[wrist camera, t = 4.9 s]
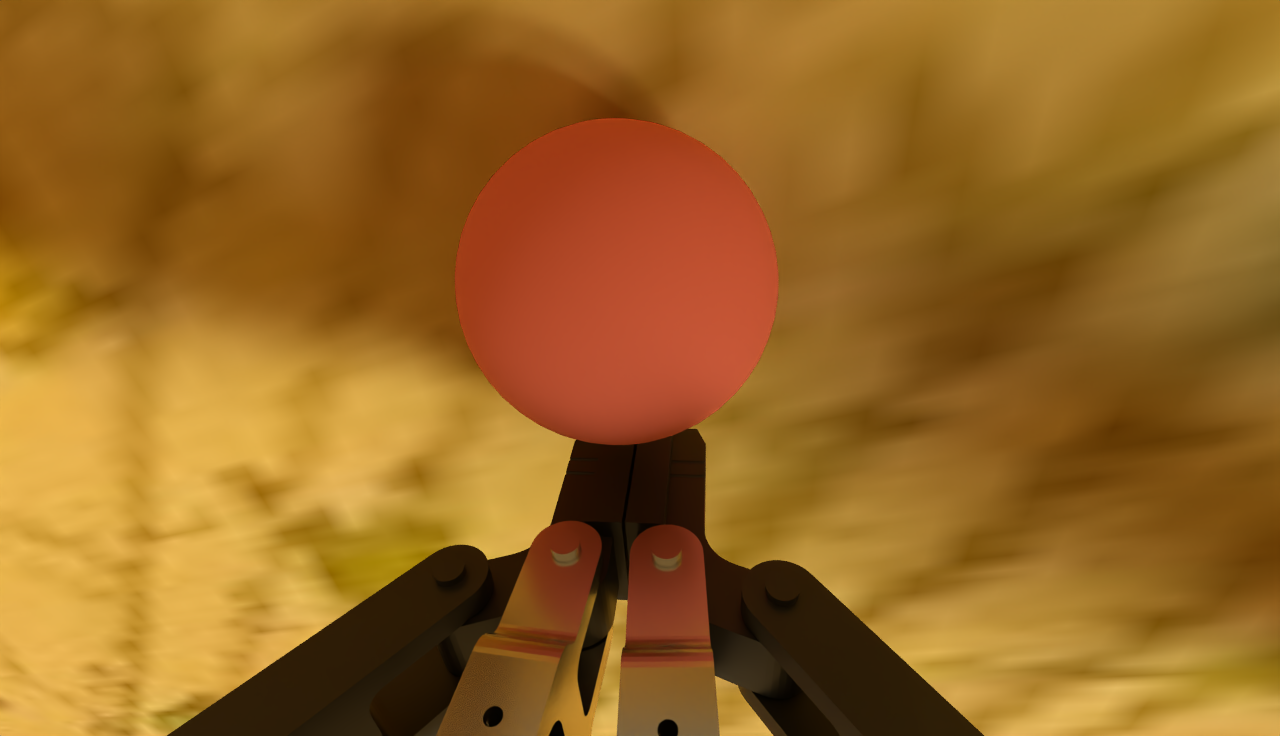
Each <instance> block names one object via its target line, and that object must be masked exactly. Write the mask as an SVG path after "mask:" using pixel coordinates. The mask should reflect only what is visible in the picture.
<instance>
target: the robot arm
mask: <svg viewBox="0 0 1280 736" xmlns="http://www.w3.org/2000/svg"><path fill="white" fill-rule="evenodd" d="M705 481H706V444H705V442H704V440H703V439H702V437H701V435H700V434H699V432H698V430H697V429H686V430H684V431H682V432H680V433H677V434H675V435H672V436H669V437H666V438H662V439H658V440H655V441H651V442H646V443H640V444H632V445H606V444H596V443H589V442H584V441H580V440H576V441H575V443H574V446H573V450H572V453H571V457H570V461H569V464H568V467H567V471H566V475H565V477H564V481H563V484H562V488H561V491H560V495H559V498H558V502H557V505H556V509H555V512H554V515H553V519H552V522H551V525H550V526H549V527H547V528H545V529H544V530H543V531H541V532H540V533H539V534H538V535H537V537H536V538H535V539H534V541H533V543H532V545H531V547H530V548H528V549H526V550H524V551H521V552H519V553H515V554H512V555H508V556H503V557H499V558H495V559H490V560H487V558H486V556H485V555H484V553H483V552H482V551H480V550H479V549H477V548H475V547H473V546H469V545H454V546H449V547H446V548H443V549H441V550H439V551H437V552H435V553H433V554H432V555H430V556H429V557H427V558H426V559H425V560H423V561H422V562H420V563H419V564H417V565H416V566H414V567H413V568H411V569H410V570H408V571H407V572H405V573H404V574H403V575H401V576H400V577H398V578H397V579H395V580H394V581H392V582H391V583H389V584H388V585H386V586H385V587H384V588H382V589H381V590H379V591H378V592H376V593H375V594H373V595H372V596H370V597H369V598H367V599H366V600H365V601H363V602H362V603H360V604H359V605H357V606H356V607H354V608H353V609H351V610H350V611H348V612H347V613H346V614H344V615H343V616H341V617H340V618H338V619H337V620H335V621H334V622H332V623H331V624H329V625H328V626H327V627H325V628H324V629H322V630H321V631H319V632H318V633H316V634H315V635H313V636H312V637H310V638H309V639H308V640H306V641H305V642H303V643H302V644H300V645H299V646H297V647H296V648H294V649H293V650H291V651H290V652H289V653H287V654H286V655H284V656H283V657H281V658H280V659H278V660H277V661H275V662H274V663H272V664H271V665H269V666H268V667H267V668H265V669H264V670H262V671H261V672H259V673H258V674H256V675H255V676H253V677H252V678H250V679H249V680H248V681H246V682H245V683H243V684H242V685H240V686H239V687H237V688H236V689H234V690H233V691H231V692H230V693H229V694H227V695H226V696H224V697H223V698H221V699H220V700H218V701H217V702H215V703H214V704H212V705H211V706H210V707H208V708H207V709H205V710H204V711H202V712H201V713H199V714H198V715H196V716H195V717H193V718H192V719H191V720H189V721H188V722H186V723H185V724H183V725H182V726H180V727H179V728H177V729H176V730H174V731H173V732H172V733H170V734H169V735H167V736H591V732H592V725H593V720H594V715H595V711H596V707H597V702H598V698H599V694H600V689H601V685H602V681H603V677H604V672H605V668H606V664H607V659H608V655H609V651H610V646H611V642H612V638H613V621H614V616H615V610H616V603H617V599H618V600H628V605H627V625H626V643H625V647H623V650H622V656H621V670H620V688H619V706H618V724H617V736H720V735H719V722H718V709H717V697H716V684H715V676H717V677H720V678H722V679H724V680H727V681H729V682H731V683H734V684H736V685H738V687H739V689H740V692H741V694H742V695H743V697H744V698H745V700H746V701H747V702H748V703H749V705H750V706H751V707H752V709H753V710H754V711H755V712H756V714H757V715H758V716H759V717H760V719H761V720H762V721H763V723H764V724H765V725H766V726H767V728H768V729H769V730H770V731H771V733H772V734H773V735H774V736H984V735H983V734H982V733H981V732H980V731H979V730H978V729H976V728H975V727H974V726H973V725H972V724H971V723H970V722H969V721H968V720H967V719H966V718H965V717H964V716H963V715H961V714H960V713H959V712H958V711H957V710H956V709H955V708H954V707H953V706H952V705H951V704H950V703H949V702H948V701H946V700H945V699H944V698H943V697H942V696H941V695H940V694H939V693H938V692H937V691H936V690H935V689H934V688H933V687H931V686H930V685H929V684H928V683H927V682H926V681H925V680H924V679H923V678H922V677H921V676H920V675H919V674H918V673H917V672H915V671H914V670H913V669H912V668H911V667H910V666H909V665H908V664H907V663H906V662H905V661H904V660H903V659H902V658H900V657H899V656H898V655H897V654H896V653H895V652H894V651H893V650H892V649H891V648H890V647H889V646H888V645H887V644H885V643H884V642H883V641H882V640H881V639H880V638H879V637H878V636H877V635H876V634H875V633H874V632H873V631H872V630H870V629H869V628H868V627H867V626H866V625H865V624H864V623H863V622H862V621H861V620H860V619H859V618H858V617H857V616H855V615H854V614H853V613H852V612H851V611H850V610H849V609H848V608H847V607H846V606H845V605H844V604H843V603H842V602H840V601H839V600H838V599H837V598H836V597H835V596H834V595H833V594H832V593H831V592H830V591H829V590H828V589H827V588H825V587H824V586H823V585H822V584H821V583H820V582H819V581H818V580H817V579H816V578H815V577H814V576H813V575H812V574H810V573H809V572H808V571H807V570H806V569H804V568H802V567H801V566H799V565H796V564H794V563H791V562H787V561H781V560H772V561H766V562H763V563H760V564H758V565H756V566H754V567H753V568H752V569H751V570H750V569H747V568H744V567H741V566H738V565H735V564H733V563H730V562H728V561H726V560H725V559H723V558H721V557H720V556H719V555H717V554H716V553H715V552H714V551H713V550H712V548H711V547H710V546H709V544H708V542H707V540H706V537H705Z"/></svg>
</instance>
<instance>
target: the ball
mask: <svg viewBox="0 0 1280 736" xmlns="http://www.w3.org/2000/svg"><path fill="white" fill-rule="evenodd" d="M455 292H456V304H457V309H458V314H459V319H460V324H461V327H462V330H463V333H464V336H465V339H466V342H467V345H468V347H469V349H470V351H471V353H472V355H473V357H474V359H475V361H476V363H477V365H478V366H479V368H480V369H481V371H482V372H483V374H484V375H485V377H486V378H487V380H488V381H489V382H490V383H491V385H492V386H493V387H494V388H495V389H496V390H497V391H498V392H499V394H500V395H501V396H502V397H503V398H504V399H505V400H506V401H507V402H509V403H510V404H511V405H512V406H513V407H514V408H516V409H517V410H518V411H519V412H520V413H522V414H523V415H525V416H526V417H528V418H529V419H531V420H532V421H534V422H536V423H537V424H539V425H540V426H543V427H545V428H547V429H549V430H551V431H553V432H556V433H558V434H560V435H563V436H566V437H570V438H573V439H577V440H580V441H584V442H589V443H596V444H606V445H632V444H640V443H646V442H651V441H655V440H658V439H662V438H666V437H669V436H672V435H675V434H677V433H680V432H682V431H684V430H686V429H688V428H690V427H692V426H694V425H696V424H698V423H700V422H701V421H703V420H704V419H706V418H707V417H708V416H710V415H711V414H713V413H714V412H716V411H717V410H718V409H719V408H720V407H721V406H723V405H724V404H725V403H726V402H727V401H728V400H729V399H730V398H731V397H732V396H733V395H734V394H735V393H736V392H737V391H738V390H739V389H740V387H741V386H742V385H743V384H744V382H745V381H746V380H747V379H748V377H749V376H750V374H751V373H752V371H753V369H754V368H755V366H756V364H757V363H758V361H759V359H760V357H761V355H762V353H763V350H764V348H765V346H766V344H767V341H768V339H769V336H770V332H771V329H772V325H773V322H774V319H775V313H776V306H777V300H778V266H777V257H776V251H775V247H774V243H773V239H772V235H771V231H770V229H769V226H768V224H767V221H766V219H765V216H764V214H763V212H762V210H761V208H760V206H759V204H758V203H757V201H756V199H755V197H754V196H753V194H752V192H751V190H750V189H749V188H748V186H747V185H746V184H745V182H744V181H743V180H742V179H741V177H740V176H739V175H738V173H737V172H736V171H735V170H734V169H733V168H732V167H731V166H730V165H729V164H728V163H727V162H726V161H725V160H724V159H723V158H722V157H720V156H719V155H718V154H716V153H715V152H714V151H712V150H711V149H709V148H708V147H707V146H705V145H704V144H703V143H701V142H699V141H697V140H696V139H694V138H692V137H690V136H688V135H686V134H684V133H682V132H680V131H678V130H675V129H672V128H669V127H666V126H663V125H660V124H657V123H653V122H648V121H641V120H635V119H627V118H604V119H594V120H588V121H583V122H579V123H576V124H572V125H569V126H566V127H562V128H559V129H557V130H554V131H552V132H550V133H548V134H546V135H544V136H542V137H540V138H538V139H536V140H534V141H532V142H531V143H529V144H528V145H527V146H525V147H524V148H522V149H521V150H520V151H518V152H517V153H516V154H514V155H513V156H512V157H511V158H510V159H509V160H508V161H507V162H506V163H505V164H504V165H503V166H502V167H501V168H500V169H499V170H498V171H497V172H496V173H495V174H494V175H493V176H492V177H491V179H490V180H489V182H488V183H487V184H486V186H485V187H484V188H483V190H482V191H481V192H480V194H479V196H478V198H477V199H476V201H475V203H474V205H473V207H472V209H471V210H470V212H469V215H468V218H467V220H466V223H465V226H464V228H463V231H462V234H461V238H460V243H459V247H458V252H457V257H456V269H455Z"/></svg>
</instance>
